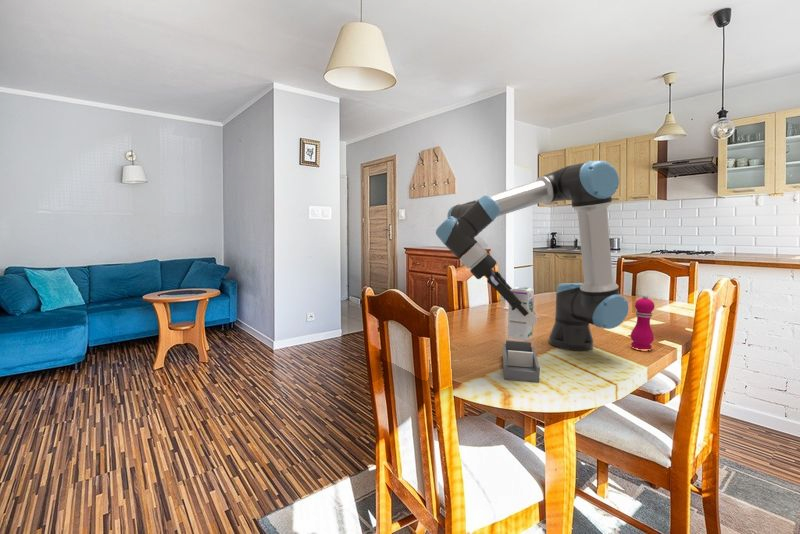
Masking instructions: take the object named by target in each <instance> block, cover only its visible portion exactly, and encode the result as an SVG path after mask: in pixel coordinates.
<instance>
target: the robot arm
mask: <svg viewBox="0 0 800 534" xmlns="http://www.w3.org/2000/svg"><path fill="white" fill-rule="evenodd" d="M619 185H620V179H619V175H618V172H617V169H616V168H615V167H614V165H612V164H611V163H609V162H608V161H605V160H590V161H587V162H583V163H582V162H581V163H577V164H571V165H567V166H564V167H561V168H559V169H557V170H554V171H552V172H550V173H547V174H544V175H541V176H539V177H537V179H536V180H535V181H533V182H529V183H525V184H522V185H519V186H516V187H512V188H510V189H506V190H503V191H501V192H497V193H494V194H490V195H483V196H482V197H480V198H478V199H474V200H472V201H467V202H465V203H462V204H461V203H460V204H456V205H453V206H451V207H450V208H449V209H448V212H447V218H446V219H445V220H444V221H443V222H442V223H441V224H440V225H438V227H437V228H436V230H435V234H436V236H437V238H438V239H439V240H440V242H442V243H443V245H444V246H445V247H447V249H448V250H449V251H450V252H451V253H452V254H453V255H454V256H455V257H456V258H457V259H458V260H459V261H460V265H461V266H465V268H466V269H468V270H469V269H470V273H471V274H472V275H473V276H474V277H475V279H477V280H480V279H482V278H483V277H484V276H485V277H486V278H487V280H486V282H487V283H488V284H489V285H490V286H492V288H493V289H495V291H496V292H497V293H498V294H500V296H501V297H502V298H503V299H504V300H505V301H506V302H507V303H508V305H509V304H510V305H511V307H512V310H516V311H517V312H518V313H519V314H520V315H521V316H522V317H523V318H524V319H525V320H526V321H527V322H528V324H529V325H530V326H532V325H535V324H536V323H537V322H538V321H539V319H538V317H537V316H536V312H535V311H534V310H533V313H532V312H531V311H530V310H529V309H528V308H527V307H526V306H525V305H524V304H523V303H521V301H519V299H518V298H517V297H516V296H515V295H514V294H513V293H512V292H511V291H510V289H512V286H510V285H509V283H507V281H506V279H505V278H503V276H502V275H501V273H500V272H499V271H496V270H493V268H494V267H495V266H496V265H497V261H496V259H495V258H493V256H491V255H490V254H489V253H488V251H487V249H486V248H484V247H483V245H482V244H481V243H480V242H478V241H477V240H476V237H477V236H478V235H479V234H480V233H481V232H483V230H484V229H486V228H487V227H488V226H489V225H490V224H491V223H493V222H494V221H495V220H496V219H497V218H498V217H500V216H503V215H507V214H511V213H513V212H516V211H520V210H523V209H526V208H528V207H529V208H530V207H532V206H534V205H538V204H541V203H542V204H550V203H554V202H562V201H563V202H565V201H571V207H572V209H574V210H575V211H576V212H577V217H578V219H577V220H578V229H579V231H578V232H579V240H580V241H579V242H580V249H581V252H580V253H581V263H582V273H583V275H582V276H583V282H569V283H568V282H566V283H565V282H564V283H563V282H562V283H559V284H558V285H557V286H556V293H555V296H556V299H555V317H554V318H555V319H554V324H553V327H552V329H551V331H550V333H549V336H548V338H549V339H548V344H550V345H551V346H554V347H556V348H559V349H563V350H569V351H570V350H571V351H589V350H592V349H593V348H594V338H593V334H592V331H591V329H590V328H591V327H590V324H591V325H593V326H595V327H597V328H602V329H606V330H607V329H609V330H610V329H611V330H612V329H615V328H617V327H619V326H620V325H621V324H622V323H623V322H624V320H626V318H627V316H628V313H629V302H628V300H627V298H625V297H624V296H623V295H621V294H620V289H619V287H620V286H619V284H617V283H616V282H614V278H613V277H614V276H613V266H612V265H613V264H612V255H611V243H610V242H611V241H610V227H609V217H608V207H609V206H610V205H611V204H612V202H613V199H612V197H613V196H614V195H615V194H616V192H617V189H618V188H619ZM487 253H488V254H487Z"/></svg>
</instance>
